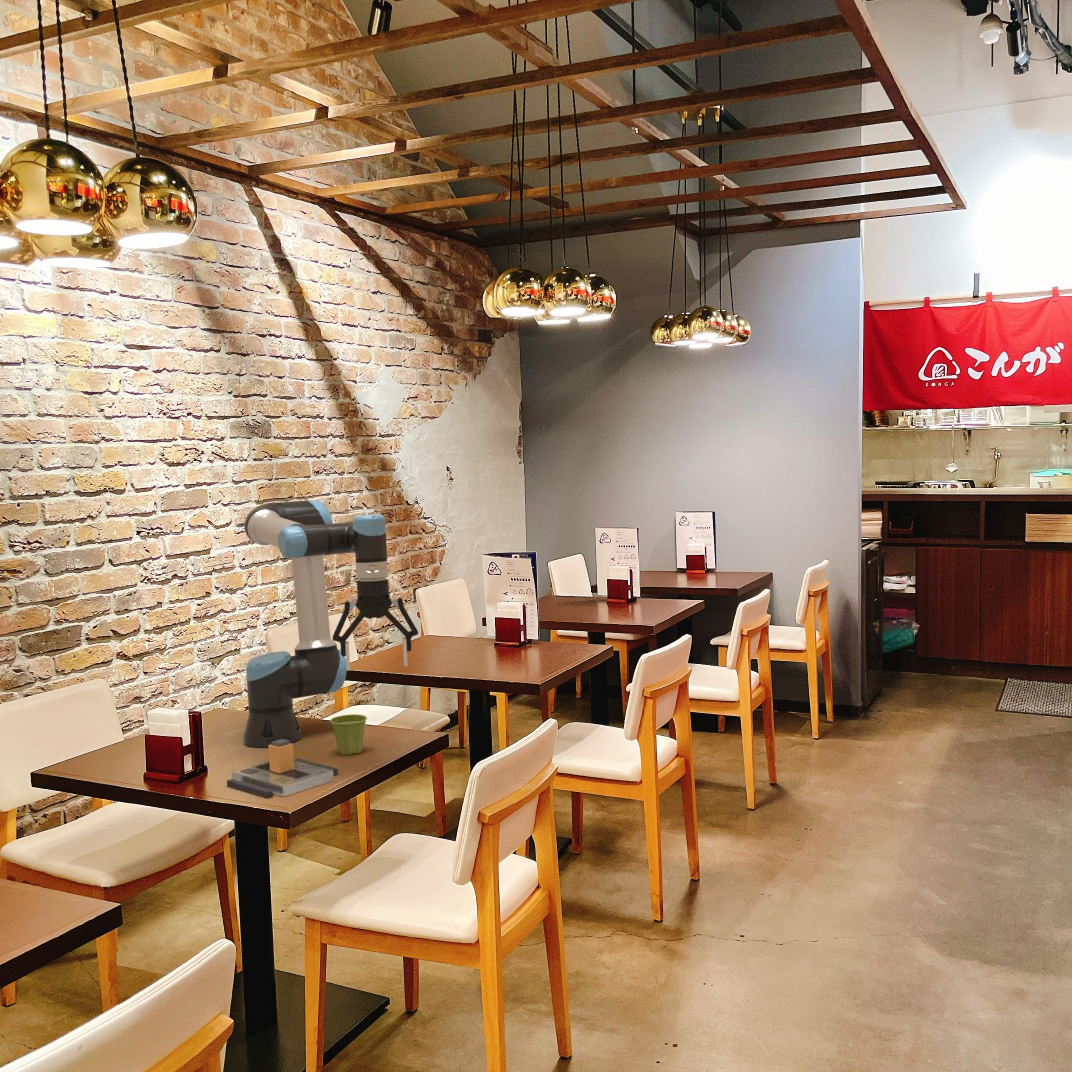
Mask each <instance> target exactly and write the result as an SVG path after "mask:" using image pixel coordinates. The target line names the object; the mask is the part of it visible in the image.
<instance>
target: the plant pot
mask: <svg viewBox="0 0 1072 1072" xmlns="http://www.w3.org/2000/svg"><path fill="white" fill-rule="evenodd" d="M367 720H368V717H367V716H366V715H364V714H357V713H355V714H352V713H351V714H342V715H338V716H335V717H332V718H330V719H329V722H330V724H331V726H332V728H333V732H334V733H333V734H334V737H335V743H336V747H337V753H339V755H342V756H344V755H345V756H349V755H352V754H356V755H357V754H359V753H362V751H363V747H364V746H363V744H364V733H365V727H366V726H365V725H366V721H367Z"/></svg>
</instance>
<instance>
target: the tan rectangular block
mask: <svg viewBox="0 0 1072 1072" xmlns="http://www.w3.org/2000/svg"><path fill="white" fill-rule="evenodd" d="M267 748H268V761H269V764H270V771H273V772H277V773H283V772H286V771H290V770H293V769H294V759H295V757H294V744H293V743H290V741H289V740H285V739H280V740H276V741H272V742H271V745H268V747H267Z"/></svg>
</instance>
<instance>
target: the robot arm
mask: <svg viewBox="0 0 1072 1072" xmlns="http://www.w3.org/2000/svg"><path fill="white" fill-rule="evenodd" d="M385 519H386V518H385V516H384V515H382V514H378V513H377V514H374V513H373V514H359V515H356V516H354V517H353V521H345V522H338V523H333V519H332V514H331V512H330V510H329V508H328V506H327V505H326V504H325V503H324V502H322V501H320V500H296V501H295V500H294V501H281V502H279V501H278V502H276V501H275V502H267V503H264V504H261V505H258V506H256V507H255V508H252V510H251V511H249V513H248V514H247V516H246V517H245V520H244V524H243V528H244V532H245V534H246V536H247V538H248V539H249V540H250V541H251V542H253V543H254V544H256V545H257V544H258V545H260V546H269V545H270V546H273V547H276V548H278V550H279V553H280V554H281V556H282V557H283V558H286V559H288V558H289V559H291V567H292V576H293V577H292V579H293V589H294V601H295V609H296V610H295V611H296V618H297V619H296V620H297V629H298V639H299V640H298V641H299V642H298V643H297V645H296V646H295V647H294V655H291V654H290V652H288V651H282V650H281V651H273V652H268V653H264V654H261V655H258V656H255V657H253V658H251V659H250V660H249V661H248V662H247V663H246V673H245V674H246V677H245V680H246V685H247V701H248V702H247V703H248V717H247V721H246V724H245V729H244V732H243V744H244V745H246V746H248V747H251V748H252V747H253V748H268V745H271V742H272V741H276V740H280V739H285V740H289V741H290V743H291V744H293V743H295V742H297V741H299V740H300V739H302V729H301V726H300V724H299V721H298V719H297V716H296V713H295V711H294V704H293V703H294V702H293V701H294V700H295V699H299V698H306V697H311V696H319V695H328V694H329V693H335V692H337V691H340V689H342V688H343V686H344V683H345V680H346V679H347V678H346V676H347V671H351V661H350V660H351V659H350V647H349V646H350V645H349V644H350V643H349V641H348V639H349V638H350V637H351V635H352V634H353V632H354V631H355V630H356V629H357V627H358V626H359V624H360V623H361V622H362V621H363V620H364V618H365V619H369V620H371V619H374V618H376V619H382V618H384V617H386V619H388V620H389V622H391V624H392V625H393V626H394V627H396V628H397V630H398V631H399V632H400V633H401V634H402V635H403V636H404V637H402V652H403V653H402V655H403V665H404V667H408V665H409V664H408V652H411V651H412V638H413V637H414V636H418V635H419V630H418V629H417V627H416V626H415V624H414V622H413V620H412V618H411V617H410V615H409V613H408V611H407V610H406V608H405V606H404V600H403V598H402V596H398V597H397V598H392V599H391V597H390V585H389V584H390V583H389V580H388V578H387V577H389V567H388V562H389V561H388V550H387V543H388V542H387V527H386V520H385ZM343 554H354V555H355V574H356V579H358V580H357V582H356V593H357V594H356V596H357V599H356V601H351V600H348V599H347V600H345V601H344V606H343V607H344V608H343V609H344V610H343V612H342V614H341V616H340V619H339V620H338V623H337V626H336V628H335V630H334V632H333V635H332V637H331V629H330V619H329V607H328V597H327V587H326V586H327V585H326V576H325V575H326V574H325V566H324V565H325V564H324V556H327V555H328V556H329V555H330V556H331V555H343ZM392 605H394V607H395V608H398V610H399V611H400V613H401V615H402V616H403V618H404V620H405V622H406V623H407V626H408V627H409V629H410V631H408V630H407V629H406V627H405V626H404V625H403V624H402V623H401V622H400V621H399V620H398V619H397V618H396V617H395V616H394V615H393V614H392V613H391V611H389V609H390V608H391V606H392ZM355 607H356V608H357V610H358V611H359V613H358V614H357V616H356V617H355V618H354V620H353V621H352V622H351V624H350V625H349V626H348V627H347V629H346V631H344V632H343V634H342V635H340V634H341V632H342V630H343V627H344V625H345V623H346V621H347V619H348V616H349V614H350V611H353V610H354V608H355ZM338 643H339V644H340V648H338ZM293 699H294V700H293Z"/></svg>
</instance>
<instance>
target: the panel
mask: <svg viewBox="0 0 1072 1072" xmlns="http://www.w3.org/2000/svg"><path fill="white" fill-rule="evenodd" d="M334 778H335V777H334V776H333V770H330V769H326V768H322V767H318V766H314V765H310V764H306V763H302V762H298V761H294V769H293V770H290V771H286V772H283V773H277V772H273V771H270V764H269V760H268V761H264V762H261V763H257V764H254V765H251V766H247V767H244V768H241V769H236V770H234V771H231V779H234V780H238V781H241V782H244V783H248V784H251V785H255V786H258V787H262V788H265V789H269V790H272V791H273V795H277V796H278V797H282V798H283V797H284V798H285V797H287V796H290V795H293V794H296V793H299V792H303V791H306V790H309V789H311V788H315V787H317V786H320V785H324V784H327V783H331V782H333V781H334V780H335V779H334Z"/></svg>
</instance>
